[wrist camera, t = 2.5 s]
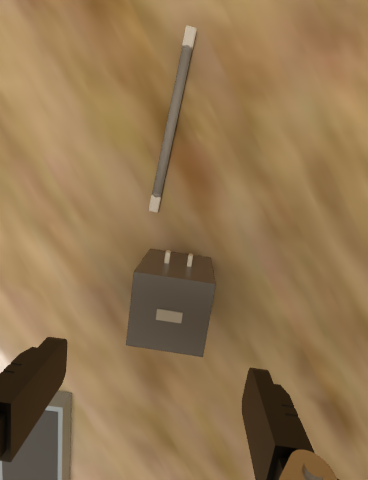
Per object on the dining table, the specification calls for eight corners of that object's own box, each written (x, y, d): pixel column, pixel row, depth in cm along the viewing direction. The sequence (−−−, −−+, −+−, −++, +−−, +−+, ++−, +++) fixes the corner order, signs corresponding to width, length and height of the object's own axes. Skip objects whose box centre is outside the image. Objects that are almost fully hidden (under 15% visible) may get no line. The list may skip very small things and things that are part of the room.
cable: (186, 30, 19) (186, 24, 18) (196, 32, 19) (196, 26, 18) (149, 209, 22) (148, 210, 21) (158, 211, 22) (157, 212, 21)
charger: (212, 248, 22) (218, 272, 16) (201, 313, 23) (202, 358, 17) (151, 239, 22) (134, 259, 16) (143, 304, 23) (125, 346, 18)
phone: (73, 389, 26) (62, 408, 24) (71, 480, 28) (61, 505, 26) (11, 381, 26) (-6, 399, 24) (14, 473, 28) (-1, 497, 26)
